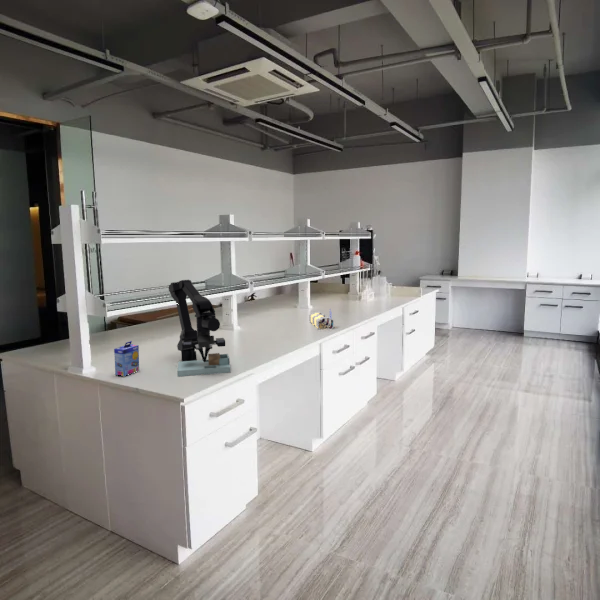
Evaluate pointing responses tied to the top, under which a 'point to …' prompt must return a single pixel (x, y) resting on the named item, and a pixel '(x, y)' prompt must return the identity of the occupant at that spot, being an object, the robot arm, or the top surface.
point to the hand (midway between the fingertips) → (204, 361)
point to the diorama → (320, 319)
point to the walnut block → (214, 359)
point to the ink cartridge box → (126, 359)
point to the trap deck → (203, 367)
